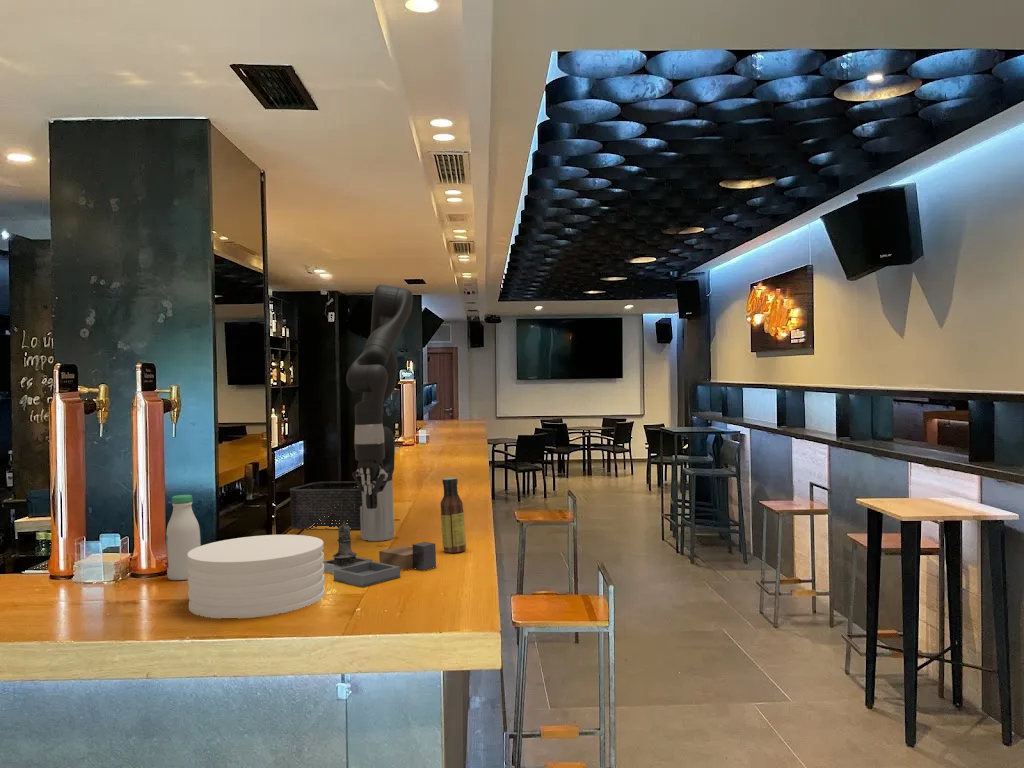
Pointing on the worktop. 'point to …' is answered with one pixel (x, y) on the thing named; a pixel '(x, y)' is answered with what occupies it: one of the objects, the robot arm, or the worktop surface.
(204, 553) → the plate stack
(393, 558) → the brown rectangular block
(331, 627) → the worktop surface
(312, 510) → the storage bin
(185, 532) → the milk bottle
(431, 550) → the block
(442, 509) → the sauce bottle
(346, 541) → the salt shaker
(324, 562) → the holder
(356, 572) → the tray
